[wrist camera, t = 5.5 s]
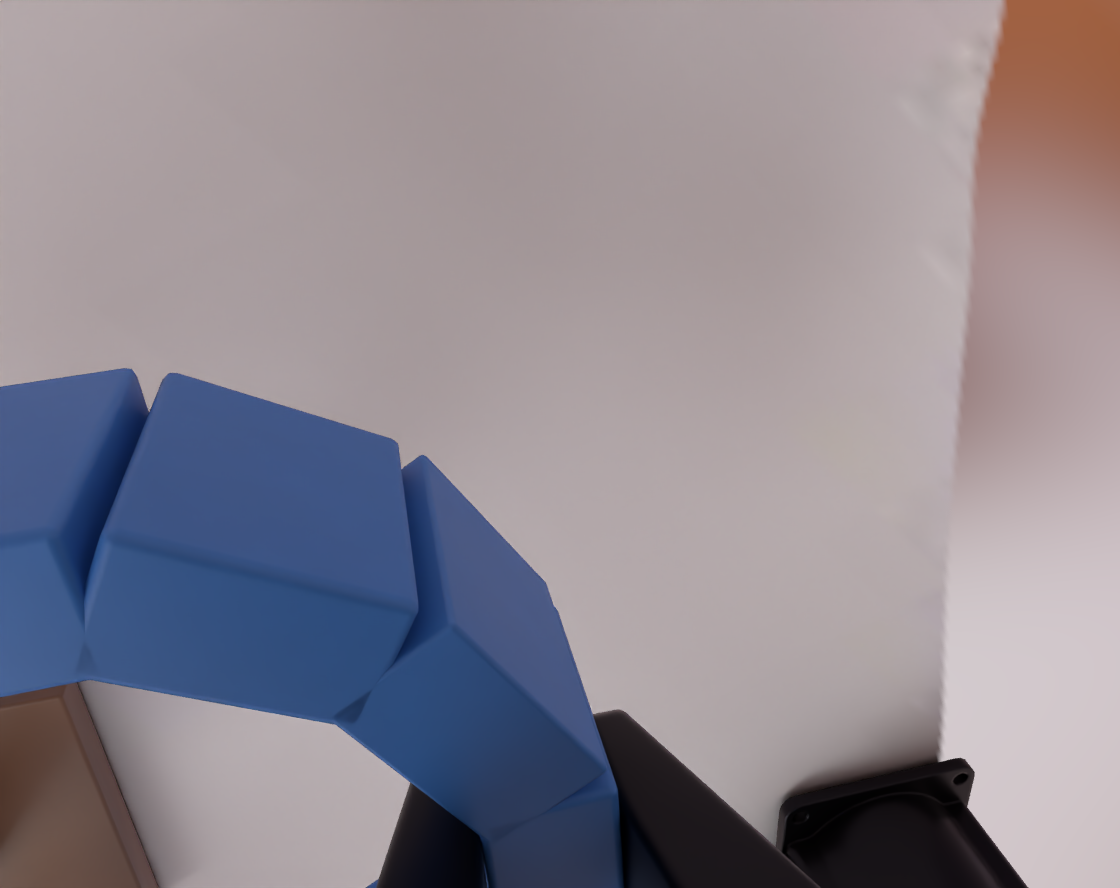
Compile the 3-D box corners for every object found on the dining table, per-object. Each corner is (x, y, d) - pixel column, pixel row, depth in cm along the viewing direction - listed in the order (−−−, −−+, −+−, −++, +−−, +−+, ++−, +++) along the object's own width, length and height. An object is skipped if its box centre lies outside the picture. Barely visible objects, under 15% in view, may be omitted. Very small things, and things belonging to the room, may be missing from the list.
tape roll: (526, 304, 8) (595, 436, 6) (588, 917, 13) (642, 1127, 10) (-616, 475, 7) (-1062, 724, 5) (-114, 1094, 11) (-227, 1377, 9)
